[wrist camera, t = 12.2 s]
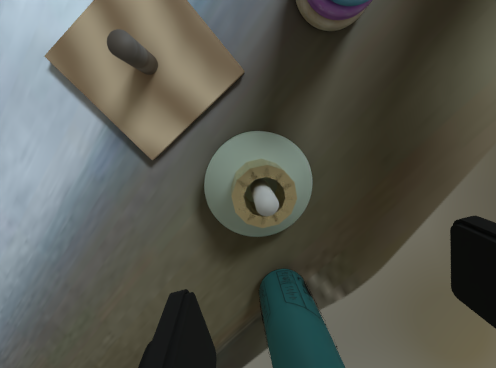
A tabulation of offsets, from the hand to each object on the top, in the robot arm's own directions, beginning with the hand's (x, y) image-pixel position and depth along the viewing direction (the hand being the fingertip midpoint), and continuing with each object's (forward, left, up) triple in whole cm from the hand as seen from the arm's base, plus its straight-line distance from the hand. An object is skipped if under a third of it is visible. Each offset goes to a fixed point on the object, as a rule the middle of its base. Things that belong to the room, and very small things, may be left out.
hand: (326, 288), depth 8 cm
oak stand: (+1, -16, -21) cm, 26 cm away
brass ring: (+1, +1, -18) cm, 18 cm away
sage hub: (+1, +1, -21) cm, 21 cm away
